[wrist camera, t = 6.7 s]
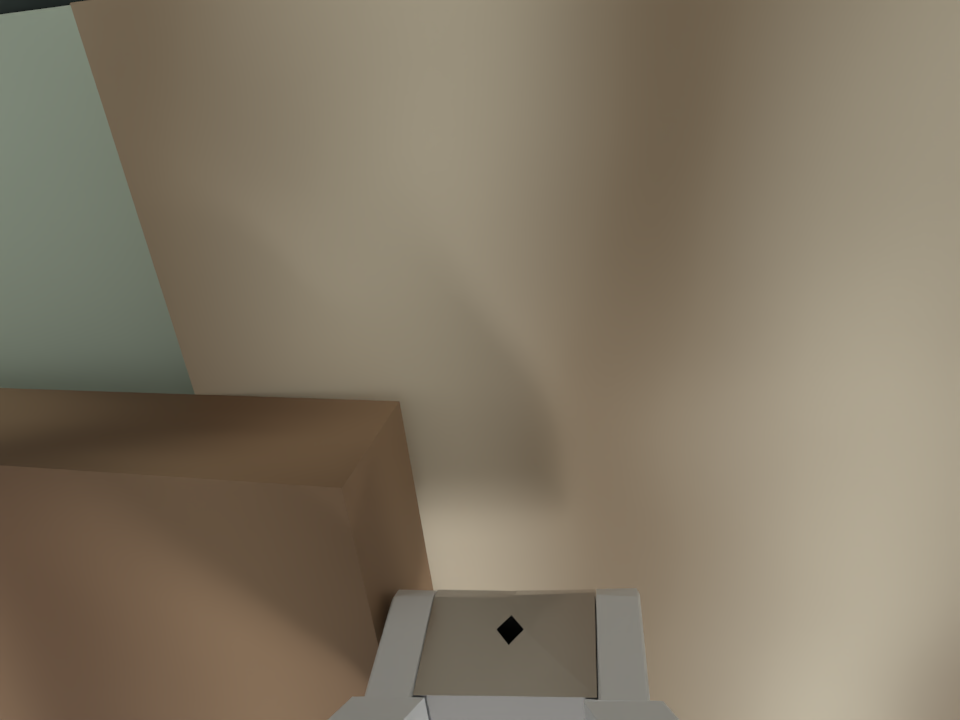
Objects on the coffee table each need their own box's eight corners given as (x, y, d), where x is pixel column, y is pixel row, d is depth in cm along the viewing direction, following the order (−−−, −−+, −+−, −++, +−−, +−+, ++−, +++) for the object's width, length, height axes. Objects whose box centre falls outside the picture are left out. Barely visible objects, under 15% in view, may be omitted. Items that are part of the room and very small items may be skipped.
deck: (1199, -148, 8) (1364, -173, 7) (966, 807, 16) (1016, 917, 14) (157, -7, 10) (69, 3, 8) (375, 792, 17) (352, 887, 16)
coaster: (399, 401, 10) (342, 488, 8) (458, 729, 13) (423, 840, 11) (-145, 383, 12) (-267, 447, 11) (2, 661, 15) (-79, 744, 13)
